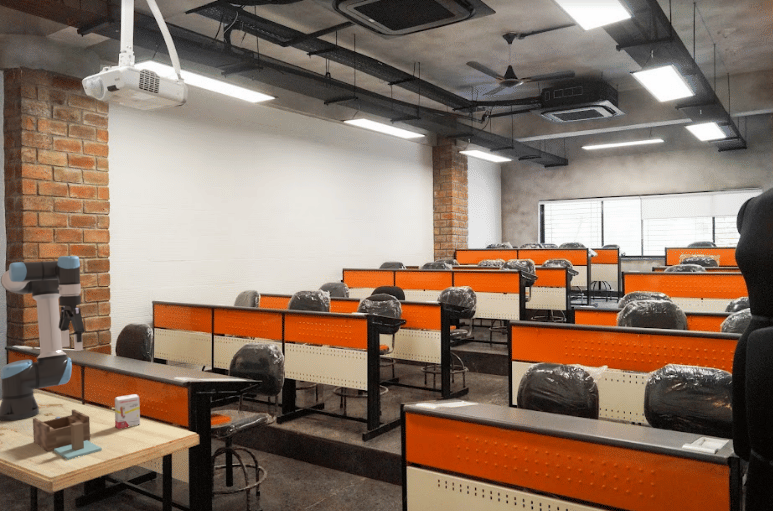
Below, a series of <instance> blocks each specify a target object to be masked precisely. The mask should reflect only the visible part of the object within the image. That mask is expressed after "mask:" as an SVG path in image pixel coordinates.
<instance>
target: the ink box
mask: <svg viewBox="0 0 773 511" xmlns="http://www.w3.org/2000/svg"><path fill="white" fill-rule="evenodd" d="M114 421H115V422H114V426H115V427H116V428H117V429H118V430H121V428H122V429H126V428H125V427H127V428H129V427H128V426H132V425H136V426H139V425H138V424H140V425H141V410H140V396H139V394H136V393H135V394H128V395H121V396H117V397H115V398H114ZM132 427H133V426H132Z"/></svg>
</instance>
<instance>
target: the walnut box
mask: <svg viewBox="0 0 773 511" xmlns="http://www.w3.org/2000/svg"><path fill="white" fill-rule="evenodd" d="M76 422H81V423H83V436H84V441H86V440H88V441H90V442H91V427H90V426H91V425H90V423H91V422H90V416H89V415H87V414H85V413H83V412H81V411H78V410H76V409H72V410H71V414H70V415H66V416H60V418H57V419H55V418H52V419H49V420H44V421H41V420H40V419H38V418H36V417H34V418H32V429H33V433H32V434H33V443H34V444H35V445H37V446H38V447H40V448H42V449H43V450H45V451H47V452H52V451H54V449H56V448H59V447H63V446H67V445H71V444H72V443H71V424H72V423H76Z"/></svg>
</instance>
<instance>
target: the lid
mask: <svg viewBox="0 0 773 511" xmlns="http://www.w3.org/2000/svg"><path fill="white" fill-rule="evenodd" d="M71 443H72V444H71V445H67V446H63V447H59V448H56V449H54V450H53V451H54V452H55V454H58V455H60V456H61V457H62V458H64V459H65V458H66V459H65V460H67V461H69V459H70V460H73V459H76V458H75V457H77V458H79V457H78V456H80V457H84V456H86V455H90V454H94V453H98V452H101V451H103V449H102V447H100V446H98V445H96V444H95V443H93V442H91V440H90V441H88V440H86V441H84V436H83V423H81V422H76V423H72V424H71ZM83 455H84V456H83ZM72 458H73V459H72Z"/></svg>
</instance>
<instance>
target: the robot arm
mask: <svg viewBox="0 0 773 511" xmlns="http://www.w3.org/2000/svg"><path fill="white" fill-rule="evenodd" d="M80 266H81V263H80V257H79V256H77V255H68V256H66V255H64V256H59V257H58V258H57V260H52V261H51V260H49V261H29V262H28V261H24V262H23V261H19V262H12V263H10V264H9V266H8V270H7V271H5V272H4V273H3V274H2V275H1V276H0V284H1V286H2V287H3V288H4V289H5V290H6V291H8V292H10V293H14V294H20V295H26V294H27V295H28V294H31V297H32V298H31V299H33V300H34V301H36V310H37V323H38V324H37V326H38V338H39V350H40V352H39V355H38V356H37V357H36V360H37V361H35V362H33V360H32V359H23V360H22V359H21V360H17V361H13V362H9V363H8V364H7V363H6V364H5V365H3V366H2V367H1V369H0V381H1V402H0V421H2V422H3V421H7V422H8V421H18V420H22V419H27V418H31V417H34V416H37V415H38V414H39V412H40V407H39V405H38V402H37V400H36V398H35V395H34V390H37V389H43V388H50V387H55V386H56V387H58V386H60V385H65V384H67V383H69V381H70V379H71V376H72V368H73V365H72V364H73V363H72V359H71V357H69V356H67V353H66V352H65V351H63V348H67V347H68V348H69V347H70V345H71V344H70V325H72V328H73V331H74V332H73V333H72V335H73V343H74V345H73V346H74V352H79V351H83V350H84V347H83V345H84V344H83V334H84V333H85V332H86V329H85V327H84V322H83V321H84V320H83V317H82V313H81V312H82V311H81V307H77V306H79V305H81V304H82V296H81V295H80V294H81V293H82V291H81V290H82V288H81V287H82V286H81V270H80V268H81V267H80Z"/></svg>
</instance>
